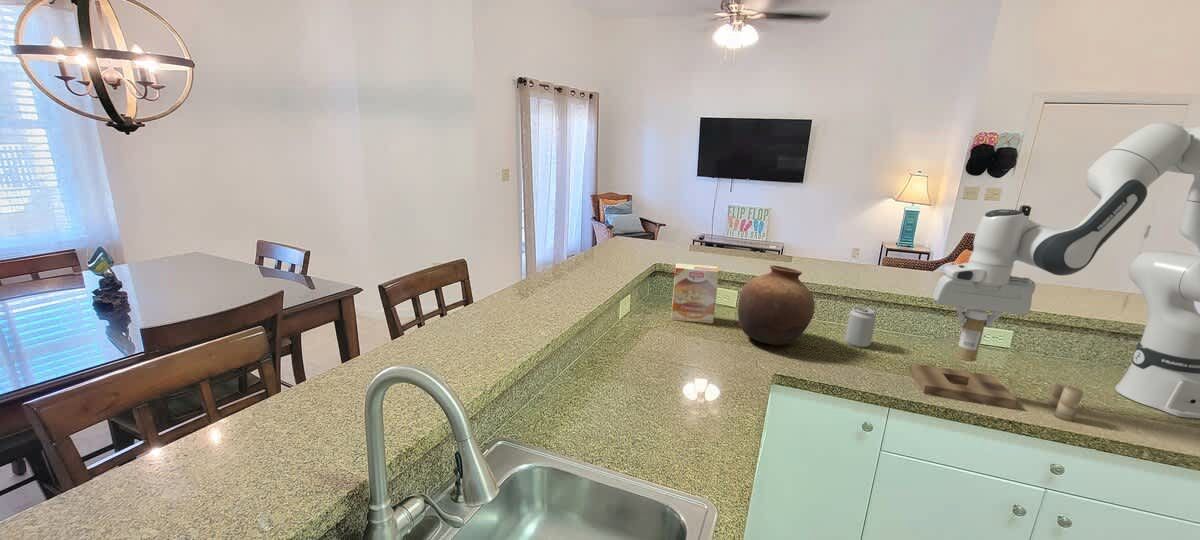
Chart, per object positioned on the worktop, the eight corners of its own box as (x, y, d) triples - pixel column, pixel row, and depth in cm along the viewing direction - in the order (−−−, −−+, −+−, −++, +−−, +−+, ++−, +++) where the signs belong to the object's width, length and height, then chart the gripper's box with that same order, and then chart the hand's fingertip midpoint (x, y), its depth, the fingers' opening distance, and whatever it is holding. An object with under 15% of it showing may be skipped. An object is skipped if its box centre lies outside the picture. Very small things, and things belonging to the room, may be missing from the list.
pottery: (729, 347, 151) (739, 270, 145) (739, 323, 172) (747, 255, 165) (808, 362, 143) (821, 281, 136) (808, 334, 164) (819, 263, 157)
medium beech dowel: (1068, 415, 119) (1078, 388, 117) (1076, 422, 116) (1086, 395, 114) (1051, 412, 120) (1061, 385, 118) (1058, 419, 117) (1068, 391, 115)
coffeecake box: (670, 320, 172) (675, 267, 167) (671, 313, 179) (675, 262, 174) (713, 324, 170) (719, 270, 165) (712, 317, 177) (717, 265, 172)
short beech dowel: (1062, 403, 125) (1067, 385, 124) (1069, 409, 122) (1075, 391, 121) (1046, 400, 126) (1051, 383, 125) (1053, 406, 123) (1058, 389, 122)
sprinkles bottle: (979, 360, 127) (991, 312, 124) (971, 363, 125) (983, 314, 122) (959, 353, 131) (971, 306, 128) (951, 356, 129) (963, 308, 125)
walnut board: (990, 383, 134) (992, 375, 133) (1014, 409, 121) (1017, 400, 120) (908, 370, 140) (910, 362, 139) (923, 393, 127) (925, 385, 126)
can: (871, 343, 159) (877, 308, 156) (869, 350, 153) (876, 315, 150) (845, 337, 163) (852, 303, 160) (843, 344, 157) (849, 309, 153)
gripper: (1031, 275, 122) (1016, 326, 125) (937, 266, 128) (926, 315, 131) (1044, 282, 116) (1028, 335, 120) (945, 271, 122) (933, 322, 126)
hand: (974, 324), depth 126 cm, fingers closed on sprinkles bottle, 4 cm apart
